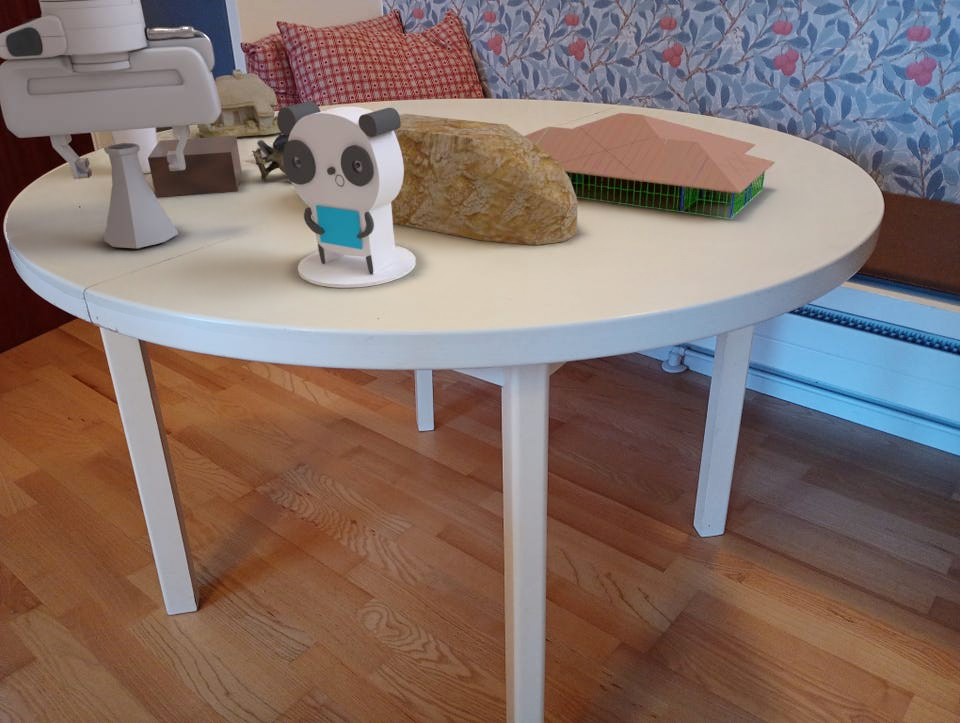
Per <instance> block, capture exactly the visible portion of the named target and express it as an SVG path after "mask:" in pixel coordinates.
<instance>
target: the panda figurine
mask: <svg viewBox="0 0 960 723" xmlns="http://www.w3.org/2000/svg"><path fill="white" fill-rule="evenodd" d="M399 115H400V113H399V112H398V110H397V109H395V108H393V107H385V108H382V109H378V110H374V111H373V110H370V109H368V108H364V107H360V106H351V105H346V106H338V107H334V108H329V109H327V110H321V109H320V107H319V106H318V104H317V103H316V102H315V101H313V100H309V101H305V102H301V103H297V104H292V105H288V106H284V107H282V108H280V109H279V111H278V112H277V115H276V116H277V125H278V128H279V130H280V131H281V132H280V133H281V135H283V134H284V135H289V139H288V142H286V144H285V147H284V153H283V164H284V170H285V173H284V175H285V174H286V175H285V176H286V178H287V179H288V180H289V182H290V181H291V182H292V183H291V185H292V187H293V188H294V190H295V192H296V194H297V195H298V196H299V197H300V199H301V200H302V201H303V202H304V203H305V204H306V205H307V206H308V207H306V208H305V209H304V213H303V219H304V222H305V224H306V226H307V227H308V228H309V229H310V230H311V231H312V233H315V237H316V243H317V249H318V250H317V251H315V252H312V253H310V254H309V255H307V256H306V257H303V259H301V260H300V261H299V263H298V265H297V272H298V275H299V276H300V277H301V279H303V280H304V281H306V282H308V283H310V284H313V285H317V286H321V287H326V288H337V289H354V288H355V289H356V288H366V287H372V286H378V285H382V284H387V283H390V282H393V281H396V280H398V279H400V278H403V277H404V276H406V275H408V274H410V273H411V272H412V270H414V269H415V267H416V263H417V260H416V256H415V255H414V254H413V252H412V251H410V250H409V249H407V248H404V247H401V246H398V245H396V243H395V234H394V223H393V220H392V207H391V202H392V201H393V200H394V199H395V198H396V197H397V195H398V193H399V191H400V189H401V186H402V183H403V177H404V165H403V158H402V154H401V150H400V146H399V143H398V140H397V138H396V135H395V133H394V131H393V130H396V129H399V128H400V125H401V121H400V116H399Z"/></svg>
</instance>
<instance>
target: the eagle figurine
mask: <svg viewBox="0 0 960 723" xmlns="http://www.w3.org/2000/svg"><path fill="white" fill-rule="evenodd" d="M276 137H277V138H276ZM276 137H275V138H276V140H275V139H274V141H273V142H272V143H273V148H272V147H270V146H269V145H267V144H266V143H267V142H266V143H265V141H264V140H262V139H260V140H258V141H257V143H256V144H257V145H258V146H259V147H260V148H259V149H257V148H256V149H255V150H252V154H254V156H253V157H254V160H255V164H256V166H257V167H258V170H259V172H260V175H261V176H260V180H261V181H262V182H263V181H265V180H266V179H267V177H268V176H269V174H270V173H272V171H275V170H276V169H279V170H280V171H281V172H282V173H283V174H284V175H285V176H286V174H285V170H284V164H283V153H284V147H285V144H286V142H288V139H289V135H284V134H279V135H278V136H276ZM260 149H261V150H260ZM261 151H263V152H264V153H265V154H266V155H267V157H263V158H262V155H261ZM270 162H271V163H270ZM267 163H269V165H268V166H267V167H266V166H265V164H267ZM289 182H290V184H292V182H291V181H290V180H289Z"/></svg>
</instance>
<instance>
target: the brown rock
mask: <svg viewBox="0 0 960 723" xmlns="http://www.w3.org/2000/svg"><path fill="white" fill-rule="evenodd" d="M399 116H400V121H401V125H400V128H399V129H396V130H393V131H394V133H395V135H396V138H397V140H398V143H399V146H400V150H401V154H402V158H403V165H404V177H403V183H402V186H401V189H400V191H399V193H398V195H397V197H396V198H395V199H394V200H393V201H392V202H391V207H392V220H393V224H394V225H395V224H396V225H401V226H405V227H411V228H415V229H420V230H421V229H422V230H427V231H430V232H436V233H441V234H447V235H451V236H456V237H462V238H467V239H471V240H477V241H483V242H485V241H486V242H494V243H506V244H507V243H508V244H519V245H530V246H531V245H532V246H539V245H549V244H555V243H565V242H566V241H568V240H570V239H571V238H573V237H575V236H576V235H577V234H578V207H579V206H578V205H579V201H578V197H576V191H575V189H574V186H573V183H571V182H572V180H571V181H570V175H568V173H567V174H566V172H565V171H564V170H563V168H562V167H561V166H560V165H559V163H558V162H557V161H556V160H555V159H554V158H553V157H551V156H550V155H549V154H547V153H546V152H545V151H543V150H542V149H541V148H539V147H538V146H537V145H535V144H534V143H533V142H531V141H530V140H528V139H527V138H526V137H524V136H525V135H523V134H522V133H520V132H519V131H517V130H516V129H514V128H513V127H511V126H509V125H508V124H505V123H504V124H503V123H495V122H485V121H477V120H467V119H459V118H458V119H457V118H448V117H440V116H439V117H438V116H432V115H431V116H430V115H420V114H413V113H412V114H411V113H401V114H399Z"/></svg>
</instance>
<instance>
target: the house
mask: <svg viewBox="0 0 960 723" xmlns="http://www.w3.org/2000/svg"><path fill="white" fill-rule="evenodd" d="M523 136H524V137H526V138H527V139H528V140H530V141H531V142H533V143H534V144H535V145H537V146H538V147H539V148H541V149H542V150H543V151H545V152H546V153H547V154H549V155H550V156H551V157H553V158H554V159H555V160H556V161H557V162H558V163H559V165H560V166H561V167H562V168H563V170H564V171H565V172H566V174H567V175H568V173H569V178H570V181H571V184H574V182H573V181H572V180H575V184H576V188H575V195H576V198H577V199H578V198H579V199H584V200H585V199H586V200H593V201H600V202H607V203H614V204H620V205H629V206H635V207H643V208H649V209H656V210H663V211H671V212H677V213H685V214H692V215H699V216H700V215H701V216H707V217H714V218H722V219H727V220H728V219H729V220H732V219H733V217H735V216H736V215H737V214H739V212H740V211H741V210H742V209H743V208H744V207H745V206H747V205H748V204H749V203H750V202H751V201H752V200H754V198H755V197H756V196H757V195H759V194H760V193H761V192H762V191H763V188H764V181H765V175H766V174H765V173H766V171H767V170H768V169H770V168H771V167H772V166H773V165H774V164H775V163H776V162H775V161H774V160H770V159H766V158H761V157H757V156H754V155H750V154H746V153H747V152H749V151H751V149H753V148H754V147H755V146H756V144H755V143H751V142H747V141H744V140H740V139H736V138H733V137H729V136H725V135H720V134H717V133H714V132H710V131H706V130H701V129H698V128H694V127H690V126H687V125H682V124H679V123H675V122H671V121H667V120H663V119H660V118H656V117H652V116H649V115H646V114H645V115H644V114H641V113H640V114H637V113H629V112H628V113H627V112H618V113H616V114H613V115H609V116H607V117H603V118H600V119H597V120H594V121H591V122H588V123H585V124H582V125H579V126H576V127H573V128H569V127H559V126H547V127H544V128H541V129H538V130H536V131H533V132H531V133H528V134H525V135H523ZM573 174H575V177H573ZM585 175H588V184H587V183H584V181H585ZM591 176H595V177H594V178H595V180H594V184H593V186H594V196H596V194H597V192H596V191H597V177H601V181H603V178H607V186H606V185H603V184H600V185H598V187H600V199H596V198H590V193H588V197H584V188H582V191H581V192H582V193H581V196H578V184H579V185H583V186H588V190H590V189H591V188H590V186H592V183H591ZM610 178H612V179H618V180H619V179H620V187H616V181H613V182H614V183H613V184H614V185H613V198H615V194H616V189H617V190H620V194H619V202H617V201H615V200H613V201H610V200H609V192H607V194H606V200H603V198H602V197H603V188H607V189H612V187H610V186H609V185H610ZM623 180H627V181H633V189H630V188H629V183H627V184H626V185H627V187H626V188H625V189H624V188H622V186H623V184H622V183H623V182H622V181H623ZM636 182H640V186H642V183H643V182H645V183H652V184H653V192H649V184H647V187H646V191H645V190H642V188H640V190H635V188H636ZM656 184H658V185H660V192H655V190H656ZM663 185H667V193H666V194H664V193H661V192H662V191H663V190H662V188H663ZM670 186H674V190H676V189H677V188H676V187H681V195H680V188H678V189H677V195H676V191H673V192H674V193H673V194H670V196H672V197H673V202H675V201H676V197H677V198H679V197H680V207H679V199H677V201H676V210H675V209H674V208H675V203H673V205H672V209H668V204H666V206H665V208H661V205H659V207H655V206H654V203H655V194H656V195H659V204H661V201H662V196H666V203H668V201H669V200H668V199H669V188H670ZM622 190H623V191H626V197H628V194H629V191H631V192H632V191H633V192H635V191H636V192H638V193H639V201H641V199H642V193H646V197H648V194H652V196H653V198H652V200H653V201H652V206H648V198H646V201H645V205H641V202H639V204H634V203H635V193H633V197H632V203H628V199H626V201H625V202H622ZM700 190H701V196H702V198H700ZM714 191H715V192H716V195H715V196H714ZM708 192H709V195H706V194H707V193H708ZM721 192H723V196H721ZM718 193H719V194H718ZM729 193H730V195H729ZM725 194H726V197H725ZM728 195H729V196H728ZM706 197H708V198H709V199H706ZM713 198H715V200H713ZM721 199H722V201H721ZM725 199H726V201H725ZM728 200H729V202H728ZM698 201H703V205H705V204H706V201H707V202H710V211H709V214H704V212H705V206H703V208H702V213H697V211H698V204H696V207H695V212H691V211H690V210H691V205H693V204H694V203H698ZM713 203H718V205H717V211H716V212H717V214H716V215H712V205H713ZM720 204H725V209H724V216H719V209H720V208H719V207H720ZM727 204H729V205H730V209H729V217H726V212H727ZM678 207H679V210H678ZM686 209H688V211H685V210H686Z"/></svg>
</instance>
